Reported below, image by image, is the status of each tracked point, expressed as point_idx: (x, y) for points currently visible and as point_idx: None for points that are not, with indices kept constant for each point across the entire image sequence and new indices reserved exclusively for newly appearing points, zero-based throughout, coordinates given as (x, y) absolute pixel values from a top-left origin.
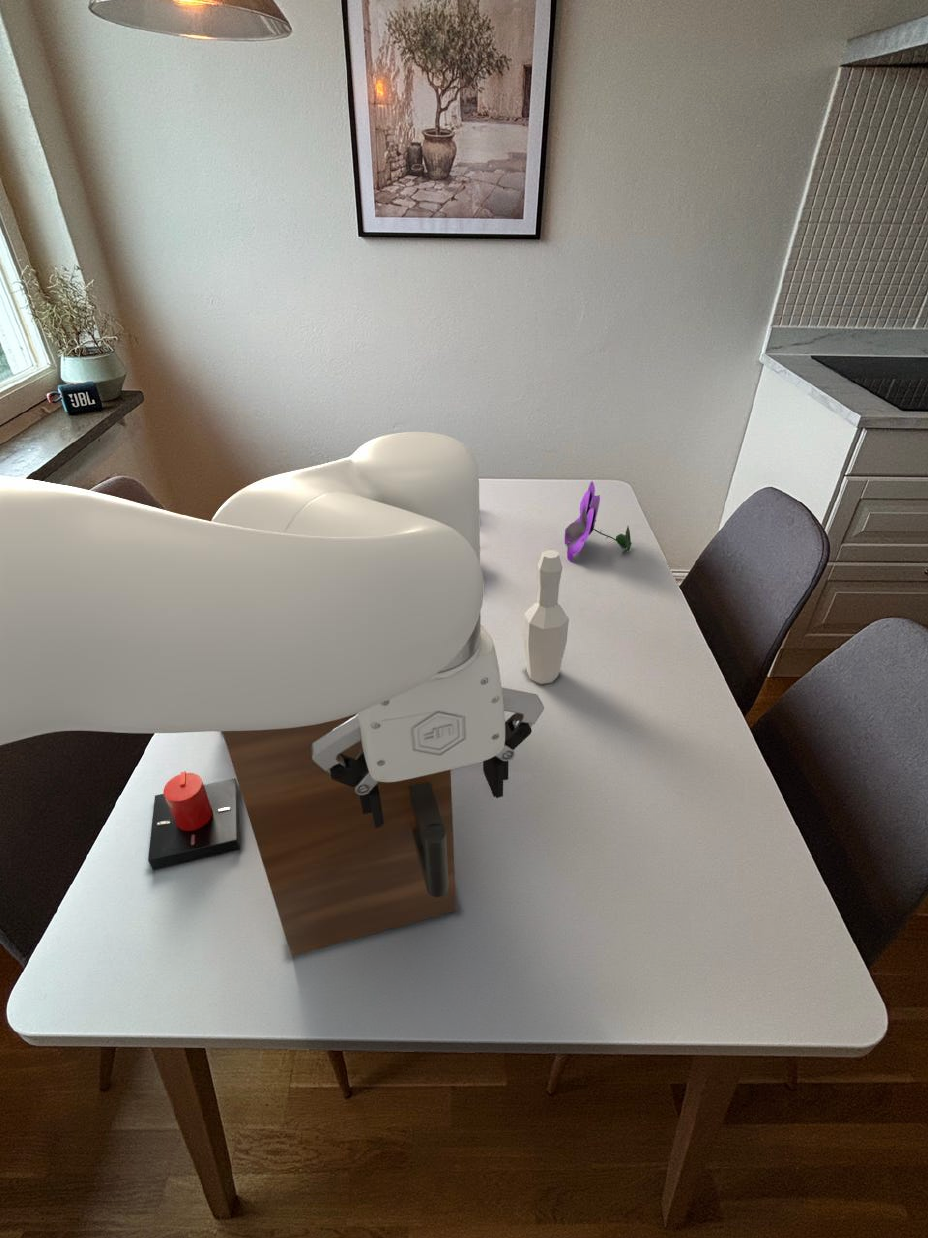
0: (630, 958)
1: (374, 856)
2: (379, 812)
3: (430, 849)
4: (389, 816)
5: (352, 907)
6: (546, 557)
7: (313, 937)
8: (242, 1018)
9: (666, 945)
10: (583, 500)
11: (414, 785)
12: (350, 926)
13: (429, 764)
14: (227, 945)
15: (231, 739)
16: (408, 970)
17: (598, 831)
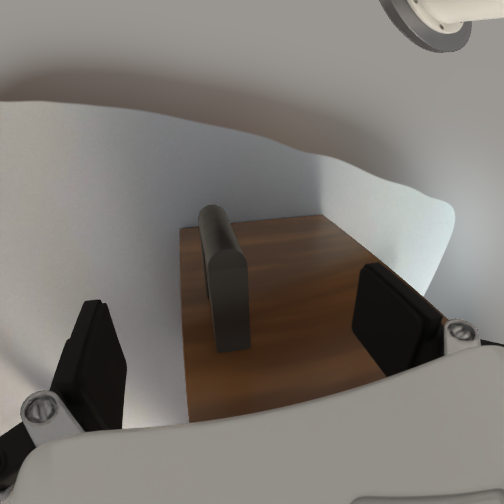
0: (42, 164)
1: (275, 272)
2: (394, 285)
3: (234, 243)
4: (270, 311)
5: (283, 236)
6: None
7: (310, 222)
8: (358, 176)
9: (14, 172)
10: None
11: (242, 349)
12: (280, 225)
13: (389, 436)
14: (362, 233)
15: None
16: (231, 183)
17: (46, 283)
